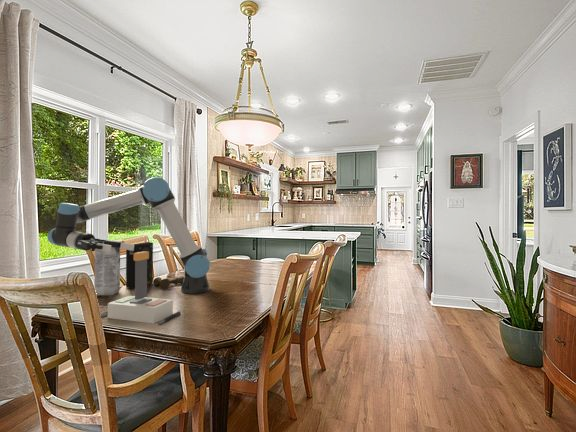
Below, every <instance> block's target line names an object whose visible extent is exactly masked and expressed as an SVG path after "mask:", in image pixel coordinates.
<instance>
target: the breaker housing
mask: <svg viewBox="0 0 576 432" xmlns="http://www.w3.org/2000/svg"><path fill="white" fill-rule="evenodd" d="M173 305H174V300H173V299H166V298H158V297H157V298H156V297H148V296H147V297H144V298H142V299H139V300H136V299H135V295H128V296H125V297H122V298H119V299H115V300H113V301H110V302H107V311H108V315H107V319H114V320H123V321H131V322H136V323H137V322H139V323H148V324H155V323H158V321H160V320H162V319H164V318H166V317H168V316H170V315H172V314H174V310H173V309H174V307H173Z"/></svg>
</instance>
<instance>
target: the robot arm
mask: <svg viewBox="0 0 576 432" xmlns="http://www.w3.org/2000/svg"><path fill="white" fill-rule="evenodd" d="M175 200H176V198H175V195H174V194H173V191H172V190H171V188H170V185H169V183H168V182H167V181H166V179H164V178H162V177H157V176H155V177H150V178H147V179H146V181H145V182H144V183H143V185H141V186H139V187H138V188H137V189H136V190H132V191H128V192H125V193H121V194H117V195H115V196H114V195H113V196H111V197H108V198H105V199H100V200H97V201H94V202H91V203H87V204H84V205H80V206H79V204H76V203H75V204H74V203H69V202H60V203H59V205H58V209H57V215H56V216H57V217H56V221H55V228H51V229H50V231H49V232H48V234H47V241H48V242H49V243H50V244H52V245H55V246H57V247H65V248H70V249H73V250H75V251H76V250H81V251H90V250H91V252H95V249H96V250H100V251H106V252H110V251H111V247H116V248H120V250H126V249H127V250H132V251H133V250H134V245H135V244H136V243H127V242H125V241H124V240H122V241H118V240H117V241H115V240H109V239H108V240H107V239H101V238H96V237H95V235H94V234H92V233H87V232H83V231H77V230H76V229H77V224H81V223H84V222H86V221H90V220H92V219H96V218H99V217H102V216H105V215H110V214H112V213H117V212H119V211H123V210H126V209H128V208H132V207H136V206H138V205H142V204H144V205H150V207H151V209H152V210H154V211H157V212H158V215H159V216H160V217H161V220H162V222H163V223H164V225H165V228H166V229H167V231H168V233H169V234H170V236H171V239H172V240H173V241H174V244H175V245H176V247H177V249H178V251H179V252H180V254H179V259H180V261H181V263H182V264H183V266H184V276H183V277H184V280H183V283H182V284H181V287H180V289H181V290H180V292H181V293H184V294H188V295H189V294H190V295H194V294H203V293H207V292H209V291H210V290H211V289H210V287H211V286H210V283H209V279H208V277H207V274H208V272H209V270H210V269H211V268H210V267H211V264H210V263H211V262H210V260H209V258H208V257H207V255H208V251H207V249H206V248H202V246H201V245H198V244H197V243H196V241H195V240H194V238H193V236H192V234H191V232H190V230H189V228H188V227H187V224H186V223H185V221H184V219H183V217H182V216H181V213H180V211H179V210H178V208H177V206H176V204H175V202H176V201H175Z"/></svg>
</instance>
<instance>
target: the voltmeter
mask: <svg viewBox="0 0 576 432" xmlns="http://www.w3.org/2000/svg"><path fill="white" fill-rule="evenodd" d="M134 244H135V245H134V250H133V251H132V250H127V249H125V254H126V255H125V257H126V258H125V288H127V289H135V261H134V253H137V252H143V251H146V252H149V259H147V286H149V285H150V284H153V280H154V279H153V278H154V276H153V275H154V274H153V273H154V266H153V265H154V264H153V263H154V243H153V242H151V241H150V242H149V241H143V242H137V243H134Z"/></svg>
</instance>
